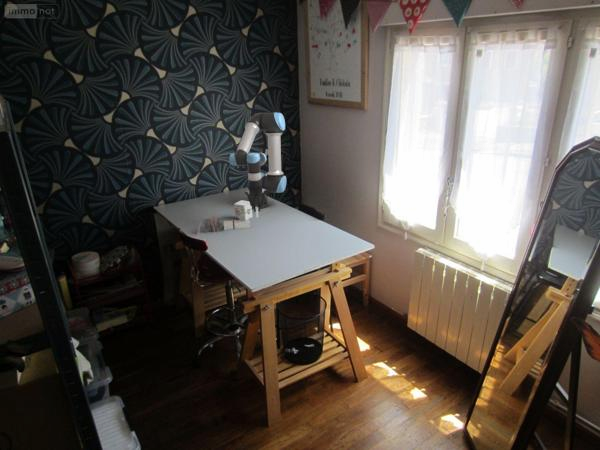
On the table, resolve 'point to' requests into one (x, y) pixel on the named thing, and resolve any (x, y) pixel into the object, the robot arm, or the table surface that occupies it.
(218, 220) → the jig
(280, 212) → the table surface
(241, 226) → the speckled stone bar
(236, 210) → the ink box
